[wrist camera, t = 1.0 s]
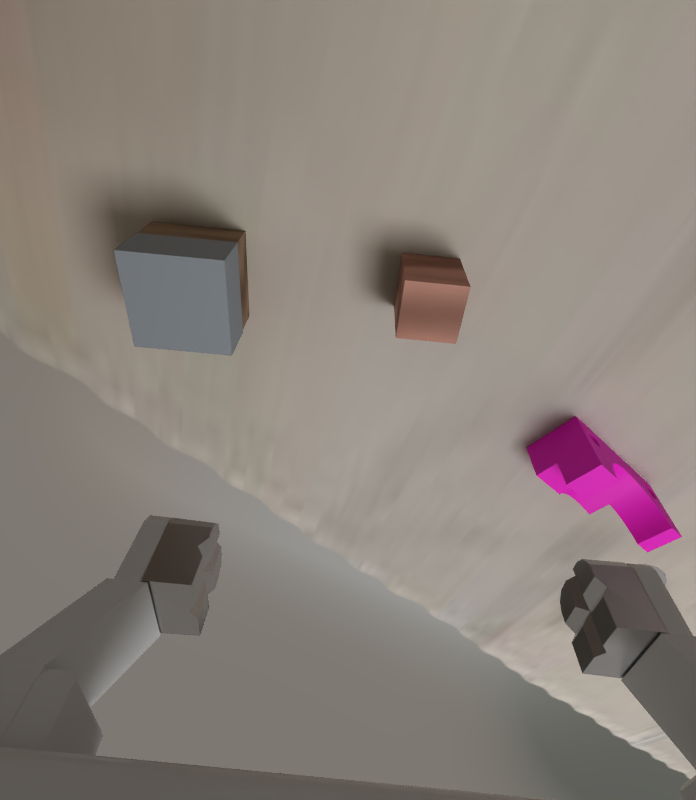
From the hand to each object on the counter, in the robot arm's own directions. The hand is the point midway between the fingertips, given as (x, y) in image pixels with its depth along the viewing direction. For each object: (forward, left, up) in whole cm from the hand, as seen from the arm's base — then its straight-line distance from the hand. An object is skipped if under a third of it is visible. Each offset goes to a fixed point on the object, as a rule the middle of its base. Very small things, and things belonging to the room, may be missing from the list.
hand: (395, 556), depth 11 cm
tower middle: (+8, -15, -30) cm, 35 cm away
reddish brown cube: (+7, +5, -34) cm, 35 cm away
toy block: (+27, +27, -34) cm, 52 cm away
